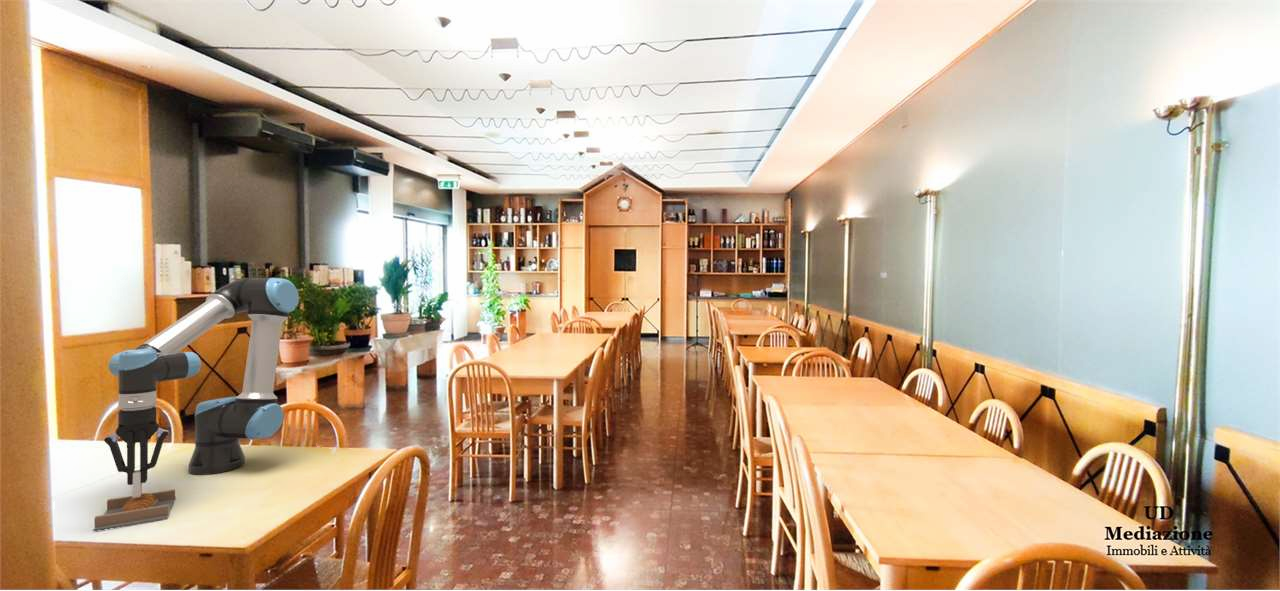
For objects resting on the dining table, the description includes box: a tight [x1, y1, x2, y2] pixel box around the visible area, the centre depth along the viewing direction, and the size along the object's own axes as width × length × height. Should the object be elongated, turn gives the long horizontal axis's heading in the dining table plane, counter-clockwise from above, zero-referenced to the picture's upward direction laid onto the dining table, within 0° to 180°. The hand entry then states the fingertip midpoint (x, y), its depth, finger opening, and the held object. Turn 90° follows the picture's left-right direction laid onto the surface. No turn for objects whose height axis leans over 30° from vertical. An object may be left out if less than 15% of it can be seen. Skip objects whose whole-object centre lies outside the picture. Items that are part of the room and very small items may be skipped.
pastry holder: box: [92, 488, 177, 532], centre depth 147 cm, size 14×17×3 cm
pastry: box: [122, 492, 158, 512], centre depth 147 cm, size 9×7×4 cm
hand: (137, 495), depth 147 cm, fingers closed
